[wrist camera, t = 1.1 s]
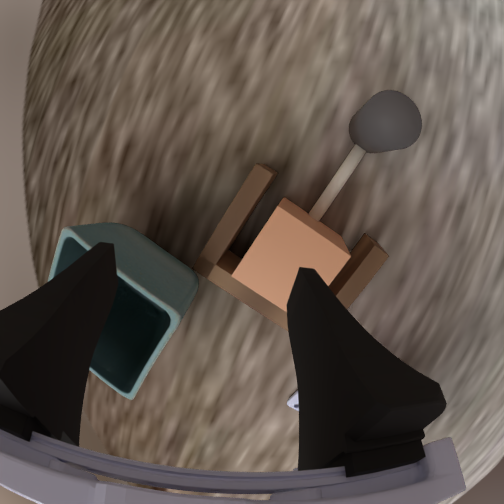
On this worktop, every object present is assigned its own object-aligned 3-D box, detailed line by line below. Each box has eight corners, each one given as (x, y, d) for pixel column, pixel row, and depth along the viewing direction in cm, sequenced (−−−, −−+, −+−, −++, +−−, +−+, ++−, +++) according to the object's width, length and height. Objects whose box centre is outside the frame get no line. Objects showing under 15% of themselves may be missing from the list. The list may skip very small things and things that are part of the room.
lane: (377, 242, 21) (389, 256, 18) (313, 323, 24) (314, 347, 21) (263, 163, 21) (256, 163, 18) (207, 253, 24) (192, 268, 20)
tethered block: (409, 135, 19) (443, 126, 13) (302, 289, 23) (299, 328, 18) (352, 93, 19) (368, 68, 13) (246, 253, 23) (227, 282, 18)
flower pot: (136, 201, 24) (61, 223, 15) (225, 263, 24) (183, 317, 15) (101, 282, 26) (37, 325, 18) (177, 339, 27) (131, 402, 18)
